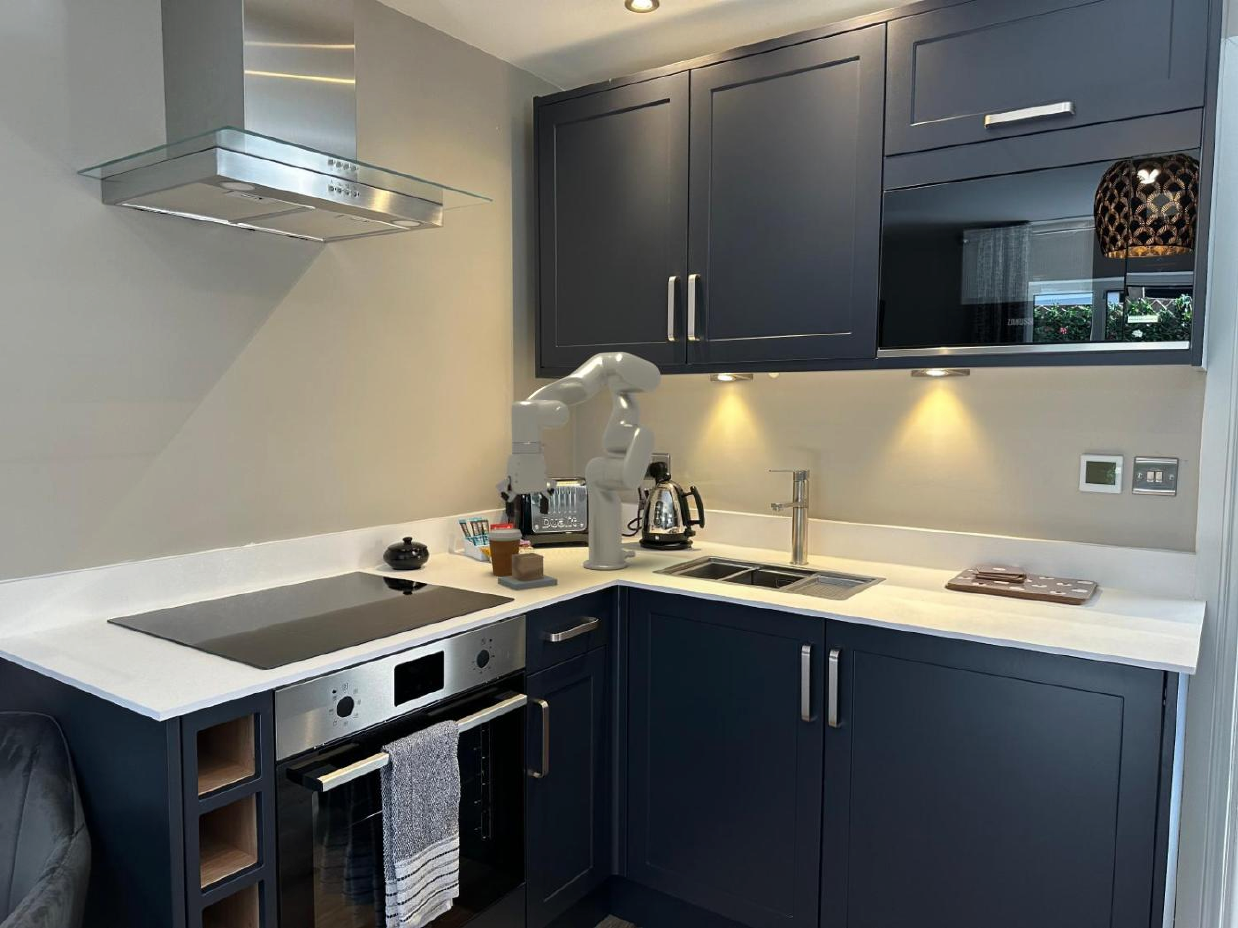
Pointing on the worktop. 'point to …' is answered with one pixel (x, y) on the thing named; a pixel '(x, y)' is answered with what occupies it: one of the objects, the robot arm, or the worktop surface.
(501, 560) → the disposable coffee cup
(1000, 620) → the worktop surface
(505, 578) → the slate board
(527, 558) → the walnut cube
